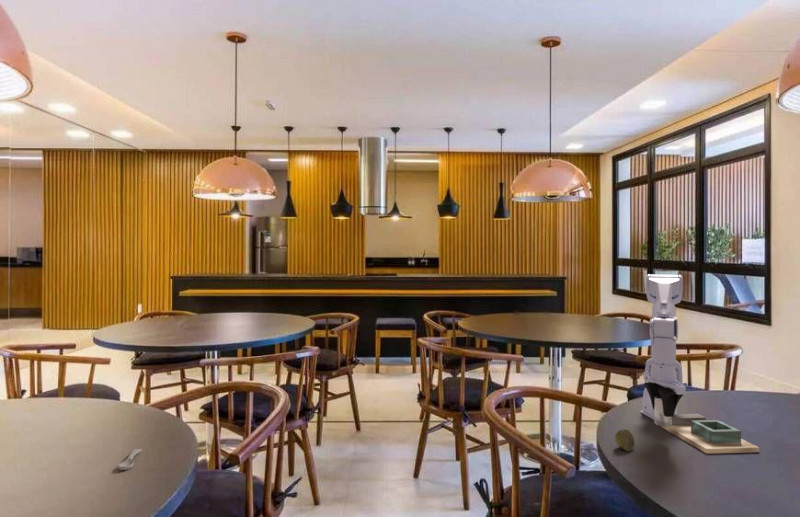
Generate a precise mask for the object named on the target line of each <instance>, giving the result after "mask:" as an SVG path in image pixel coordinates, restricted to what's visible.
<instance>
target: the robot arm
mask: <svg viewBox="0 0 800 517" xmlns="http://www.w3.org/2000/svg"><path fill="white" fill-rule="evenodd" d="M683 286H684V281H683V275H682V274H650V273H648V274H646V276H645V292H646V298H647V301H648V302H650V303H652V308H651V310H652V311H651V319H649V337H650V345H651V349H650V350H651V352H650V354H651V355H650V357H651V358H649V359H647V360H646V362H645V368H644V371H642V373H643V375H642V377H643V378H642V379H644V383H643V384H644V387H645V388H644V390H643V394H642V410H640V413H641V414H643V415H644V416H646V417H648V418H650V419H652V420H653V421H654V408H655V396H661V398H662V403H663V413H664V416H666V417H673V415H674V414H678V404H679V402H680V400H681V398H682V397H683V396H684V395H686V394H687V392H686V387H687V386H684V385H683V367H682V365H681V362H679V361H678V360H677V341H678V338H679V322H678V318H677V316H676V315H677V314H676V313H677V312H676V306H675V305H677V304H679V303H681V300H682V299H683V291H684V289H683V288H684V287H683Z"/></svg>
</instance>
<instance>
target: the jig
mask: <svg viewBox="0 0 800 517" xmlns="http://www.w3.org/2000/svg"><path fill="white" fill-rule="evenodd" d="M659 427H661V428H662V429H664V430H666V432H669V433H671V434H673V435H674V436H676V437H677V438H679V439H681V440H682V441H685V442H687V444H690V445H691V446H692V447H695V448H696V449H698V450H700V451H701V452H703V453H705V454H708V455H709V454H734V453H735V454H737V453H738V454H739V453H742V454H743V453H759V452H760V447H759V446H757V445H755V444H753V443H751V442H749V441H747V440H745V439H743V438H742V431H741V430H740V429H737V428H736V427H734V426H731V425H729V424H727V423H725V422H723V421H721V420H720V419H711V420H710V419H707V418H706V417H705V416H703V415H701V414H699V413H687V414H686V413H684V414H683V413H682V414H681V413H679V414H678V413H677V414H674V415H673V417H672V426H671V427H662V426H659Z"/></svg>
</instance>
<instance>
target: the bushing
mask: <svg viewBox="0 0 800 517" xmlns="http://www.w3.org/2000/svg"><path fill="white" fill-rule="evenodd" d="M653 421H654V422H653V423H654V425H656V426H659V427H660V426H662V427H671V426H672V417H666V416H664V413H663V403H662V398H661V396H655V408H654V420H653ZM662 427H661V428H662Z"/></svg>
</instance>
